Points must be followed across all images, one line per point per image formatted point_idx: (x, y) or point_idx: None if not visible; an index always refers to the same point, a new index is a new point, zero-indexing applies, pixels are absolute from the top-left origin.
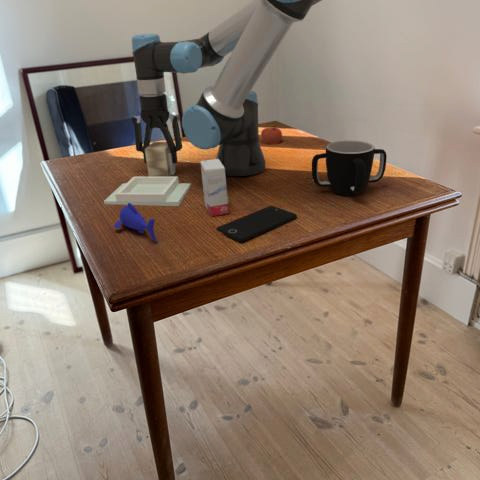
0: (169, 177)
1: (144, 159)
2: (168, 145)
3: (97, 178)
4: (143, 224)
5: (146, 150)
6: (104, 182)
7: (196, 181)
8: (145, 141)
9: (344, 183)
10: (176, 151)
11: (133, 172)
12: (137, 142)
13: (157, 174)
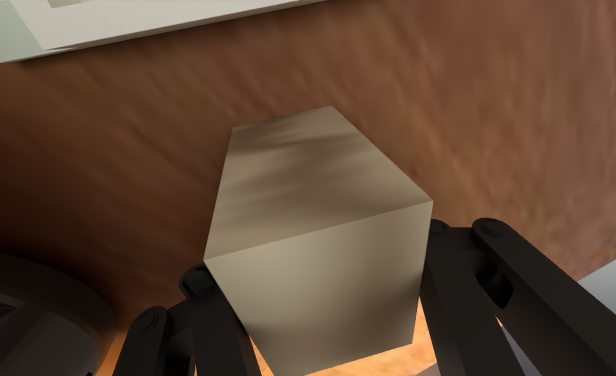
0: (96, 7)
1: None
2: (231, 331)
3: (573, 101)
4: None
5: (409, 196)
6: (544, 55)
7: (101, 174)
8: (472, 309)
9: None
10: (185, 300)
11: (440, 196)
12: (545, 277)
13: (291, 129)
